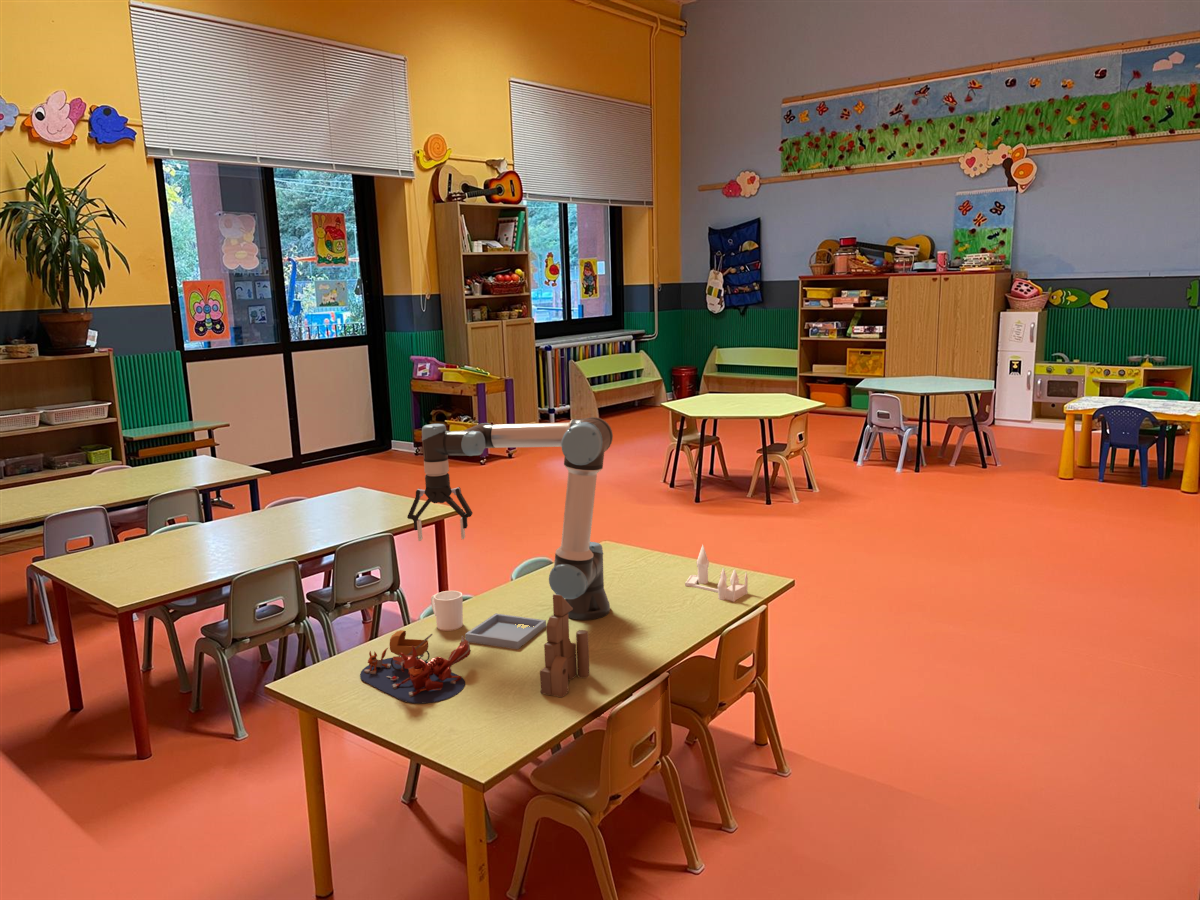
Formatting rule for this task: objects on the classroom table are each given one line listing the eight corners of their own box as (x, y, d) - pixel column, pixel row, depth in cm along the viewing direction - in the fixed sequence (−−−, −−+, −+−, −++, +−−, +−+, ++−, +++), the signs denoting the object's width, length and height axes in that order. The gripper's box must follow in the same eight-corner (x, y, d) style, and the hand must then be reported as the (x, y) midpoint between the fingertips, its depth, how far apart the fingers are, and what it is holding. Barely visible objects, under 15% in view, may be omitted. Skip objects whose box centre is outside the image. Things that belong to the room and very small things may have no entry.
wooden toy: (562, 698, 229) (558, 606, 224) (540, 693, 232) (536, 602, 227) (591, 675, 242) (588, 587, 238) (570, 670, 245) (567, 584, 241)
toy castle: (692, 582, 315) (692, 539, 312) (754, 596, 300) (755, 550, 297) (669, 594, 304) (668, 549, 301) (732, 609, 289) (732, 561, 286)
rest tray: (546, 628, 276) (545, 620, 276) (518, 650, 260) (517, 641, 260) (496, 621, 284) (495, 613, 283) (465, 641, 267) (465, 633, 267)
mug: (469, 623, 282) (467, 592, 281) (454, 633, 274) (452, 601, 273) (440, 619, 287) (438, 588, 285) (424, 628, 279) (422, 597, 277)
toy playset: (346, 673, 249) (342, 626, 246) (423, 644, 268) (420, 600, 265) (421, 710, 225) (417, 658, 223) (499, 676, 244) (497, 627, 242)
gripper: (478, 469, 281) (482, 534, 285) (400, 472, 281) (405, 537, 285) (474, 474, 273) (479, 540, 277) (394, 477, 274) (399, 543, 278)
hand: (441, 539), depth 281 cm, fingers open, 13 cm apart
